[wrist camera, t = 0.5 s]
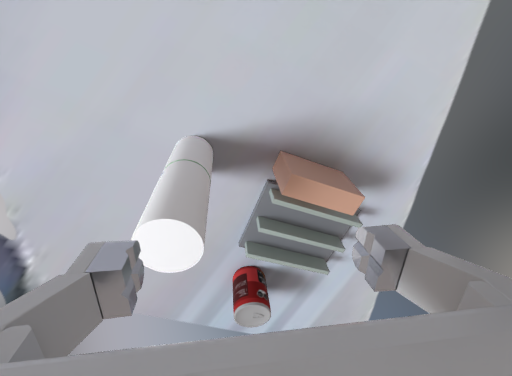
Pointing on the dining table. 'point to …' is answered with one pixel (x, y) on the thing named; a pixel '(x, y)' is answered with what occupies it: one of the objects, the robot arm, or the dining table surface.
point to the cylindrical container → (177, 209)
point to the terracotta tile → (316, 184)
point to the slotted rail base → (294, 231)
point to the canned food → (250, 297)
